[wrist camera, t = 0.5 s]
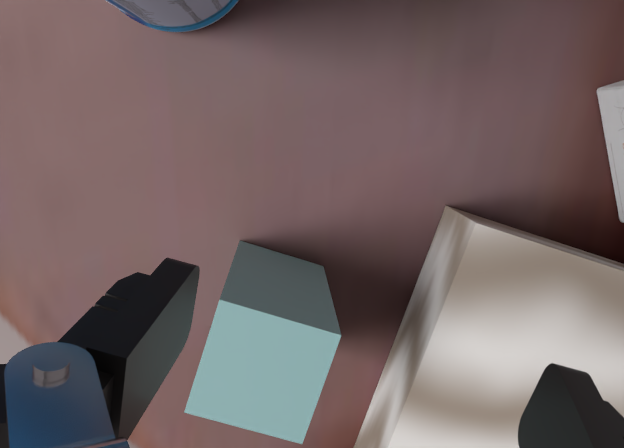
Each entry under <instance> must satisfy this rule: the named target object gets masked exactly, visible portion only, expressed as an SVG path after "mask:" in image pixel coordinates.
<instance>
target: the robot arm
mask: <svg viewBox="0 0 624 448" xmlns="http://www.w3.org/2000/svg"><path fill="white" fill-rule="evenodd" d="M198 280H199V266H196V265H193V264H189V263H185V262H182V261H178V260H174V259H171V258H166V259H165V260H164V261H163V262H162V263H161V264H160V265H159V266H158V267H157V268H156V269H155V271H154V272H153V273H152V274H151V275H146V274H142V273H139V272H137V273H135V274H132V275H130V276H128V277H125V278H123V279H121V280H118V281H117V282H116V283H115V284H114V285H113V286H112V287H111V288H110V289H109V290H108V291H107V292H106V294H105V296H102V297H101V298H100V299H99V300H98V301H97V302H96V303H95V306H94V307H93V306H92V307H91V309H90V310H89V311H88V312H87V313H86V314H85V315H84V316H83V317H82V318H81V319H80V320H79V321H78V322H77V323H76V324H75V325H74V326H73V327H72V328H71V329H70V330H69V331H68V332H67V333H66V334H65V335H64V336H63V337H62V338H61V339H60V340H59V341H58V342H50V343H42V344H37V345H34V346H31V347H28V348H26V349H24V350H22V351H20V352H18V353H17V354H16V355H15V356H13V357H12V358H11V359H10V360H9V362H8V363H7V364H0V448H130V447H129V444H128V442H127V440H128V438H129V436H130V435H131V433H132V431H133V430H134V428H135V427H136V425H137V423H138V422H139V420H140V418H141V417H142V415H143V413H144V412H145V410H146V408H147V407H148V405H149V404H150V402H151V400H152V399H153V397H154V395H155V394H156V392H157V390H158V389H159V387H160V386H161V384H162V382H163V381H164V379H165V377H166V376H167V374H168V372H169V371H170V369H171V367H172V366H173V364H174V363H175V361H176V359H177V358H178V356H179V354H180V353H181V351H182V349H183V347H184V345H185V343H186V340H187V338H188V335H189V331H190V327H191V323H192V317H193V311H194V305H195V298H196V292H197V286H198ZM518 444H519V448H624V417H623V416H622V415H621V414H620V413H619V412H618V411H617V410H616V409H615V408H614V407H613V406H612V405H611V404H610V403H609V402H607V401H604V400H603V399H602V397H601V395H600V393H599V391H598V389H597V387H596V386H595V384H594V382H593V380H592V378H591V376H590V375H589V374H588V373H587V372H584V371H580V370H576V369H573V368H569V367H565V366H562V365H558V364H554V363H551V364H549V365H548V366H547V367H546V368H545V370H544V371H543V373H542V375H541V377H540V379H539V381H538V383H537V385H536V388H535V390H534V392H533V394H532V396H531V398H530V400H529V402H528V404H527V406H526V408H525V410H524V412H523V414H522V416H521V419H520V423H519V427H518Z"/></svg>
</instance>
